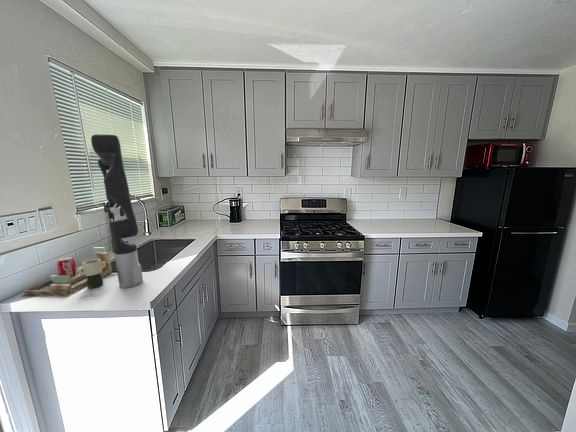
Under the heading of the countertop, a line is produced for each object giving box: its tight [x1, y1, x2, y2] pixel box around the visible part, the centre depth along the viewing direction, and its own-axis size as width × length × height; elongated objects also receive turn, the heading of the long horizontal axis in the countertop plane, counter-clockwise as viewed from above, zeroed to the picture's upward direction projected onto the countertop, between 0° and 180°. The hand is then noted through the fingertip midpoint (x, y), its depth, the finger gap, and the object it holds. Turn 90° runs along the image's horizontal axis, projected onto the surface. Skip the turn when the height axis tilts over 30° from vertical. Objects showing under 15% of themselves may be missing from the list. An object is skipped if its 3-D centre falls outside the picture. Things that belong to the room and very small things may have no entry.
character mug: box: [78, 258, 106, 288], centre depth 116 cm, size 11×7×13 cm, turn 152°
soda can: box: [56, 256, 79, 278], centre depth 123 cm, size 7×7×12 cm
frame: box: [23, 278, 70, 297], centre depth 119 cm, size 22×23×2 cm
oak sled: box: [48, 252, 113, 295], centre depth 121 cm, size 10×25×11 cm, turn 176°
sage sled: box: [49, 246, 107, 284], centre depth 131 cm, size 10×25×11 cm, turn 175°
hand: (117, 217), depth 146 cm, fingers open, 8 cm apart
